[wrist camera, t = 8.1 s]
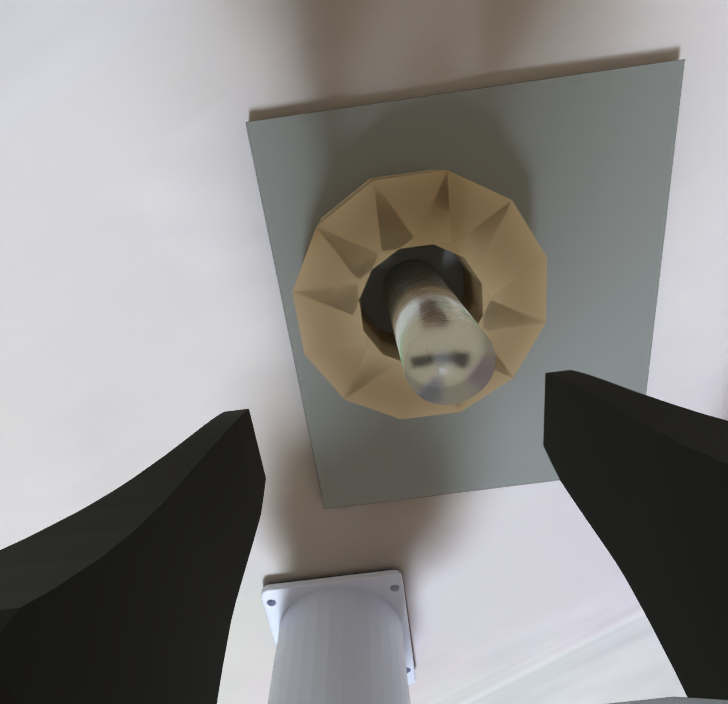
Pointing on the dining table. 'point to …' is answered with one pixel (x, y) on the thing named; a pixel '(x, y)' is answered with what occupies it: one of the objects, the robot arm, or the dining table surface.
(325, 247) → the bead
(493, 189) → the mat
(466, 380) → the steel peg
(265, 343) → the dining table surface
